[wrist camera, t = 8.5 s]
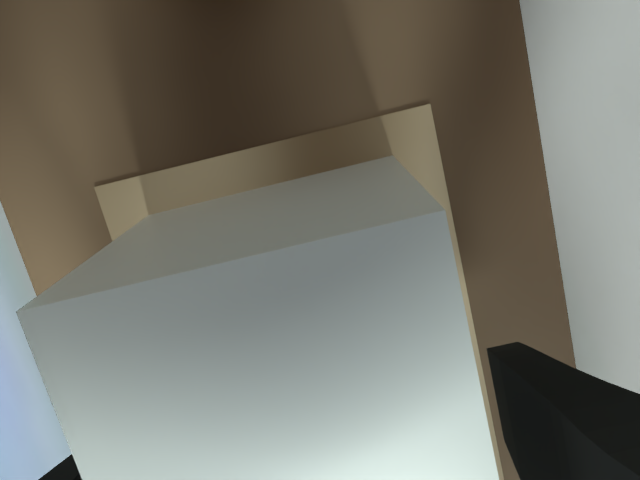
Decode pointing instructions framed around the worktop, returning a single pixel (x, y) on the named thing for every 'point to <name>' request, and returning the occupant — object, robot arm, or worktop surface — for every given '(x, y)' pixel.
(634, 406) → the robot arm
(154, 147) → the walnut board
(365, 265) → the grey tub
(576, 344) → the worktop surface
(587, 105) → the worktop surface
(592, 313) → the worktop surface
